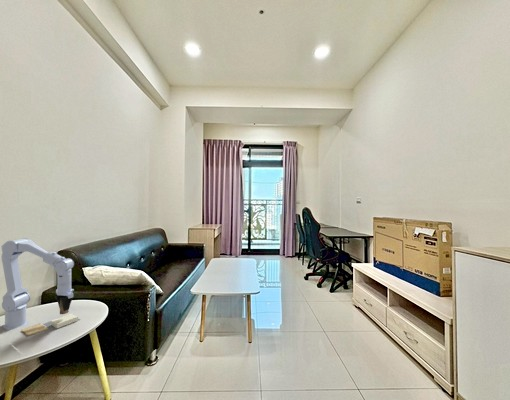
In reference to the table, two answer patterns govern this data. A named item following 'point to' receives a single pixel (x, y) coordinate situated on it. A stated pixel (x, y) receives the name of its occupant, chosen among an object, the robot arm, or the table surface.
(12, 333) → the table surface
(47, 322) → the mat
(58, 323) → the tile
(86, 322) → the table surface
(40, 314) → the table surface
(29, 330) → the board
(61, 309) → the dowel
